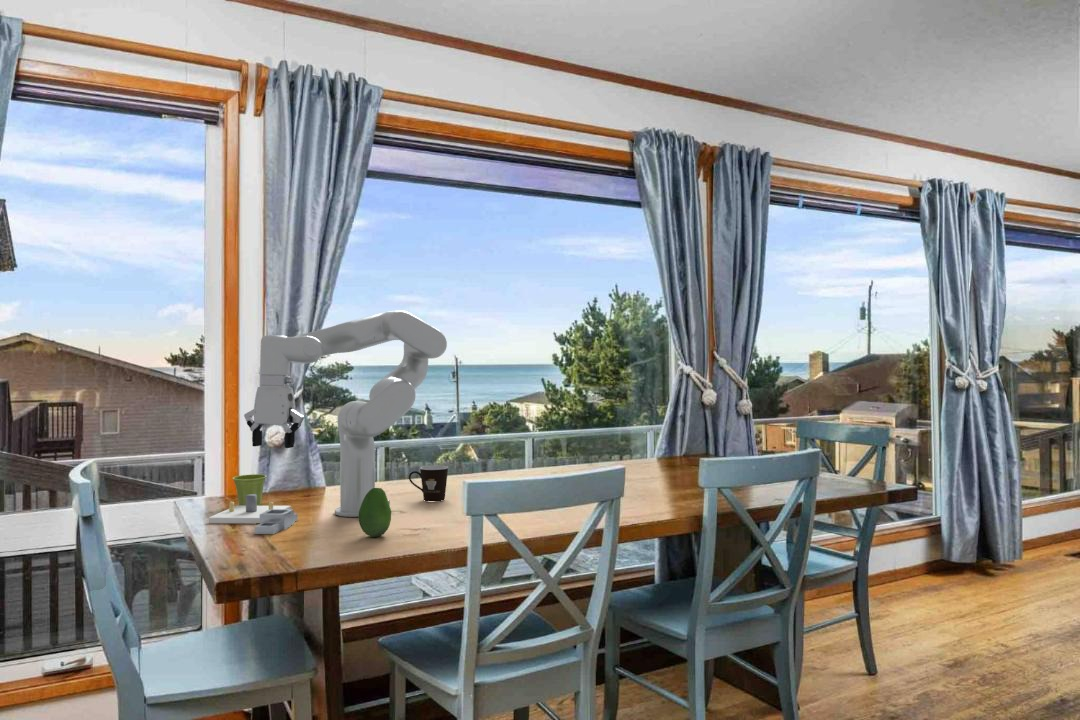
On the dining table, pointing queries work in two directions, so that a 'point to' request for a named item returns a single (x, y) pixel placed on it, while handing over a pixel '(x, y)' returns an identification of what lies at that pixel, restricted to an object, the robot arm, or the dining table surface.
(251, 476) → the plant pot
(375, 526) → the avocado
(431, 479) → the coffee mug
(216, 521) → the post block
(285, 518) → the bracket
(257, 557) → the dining table surface
